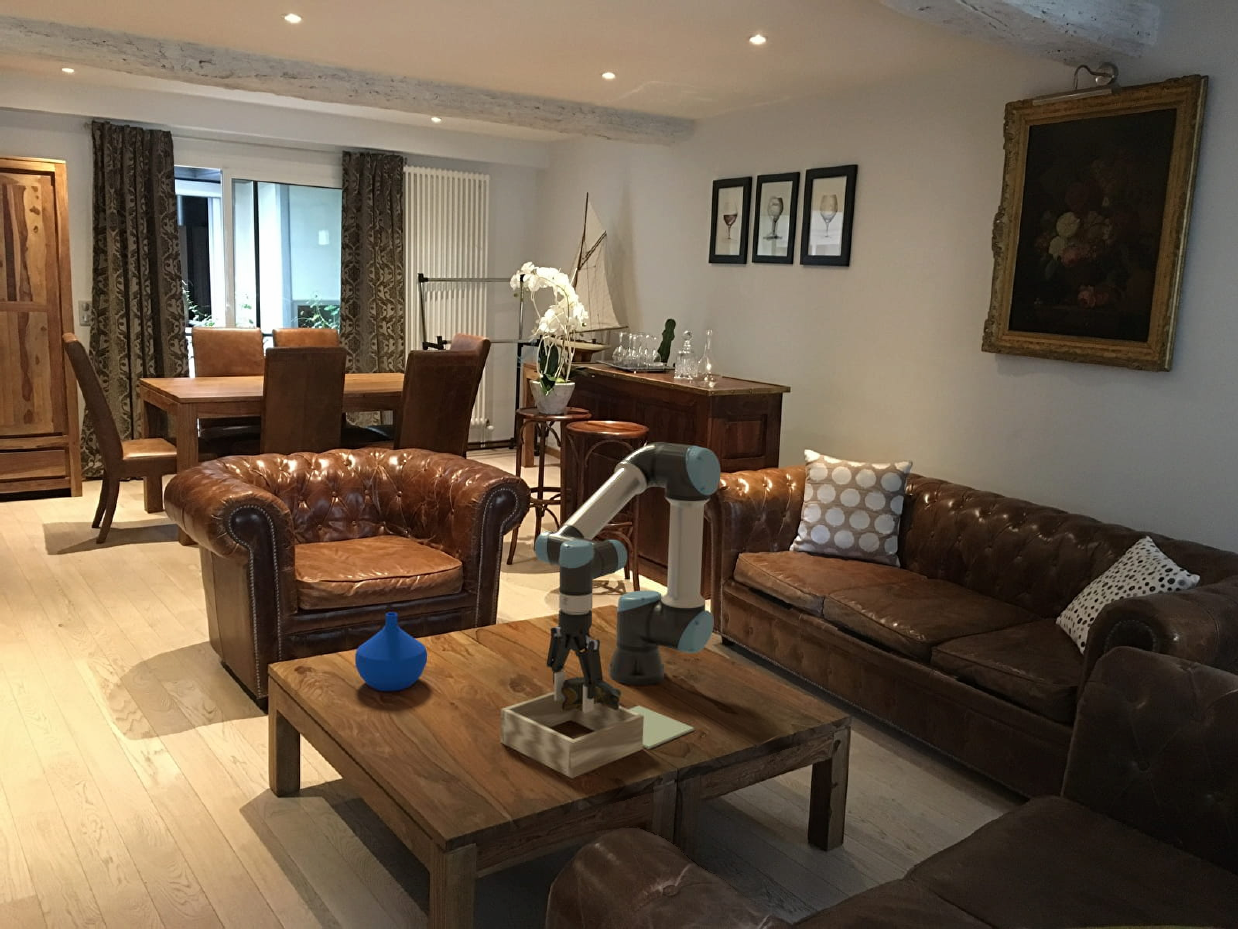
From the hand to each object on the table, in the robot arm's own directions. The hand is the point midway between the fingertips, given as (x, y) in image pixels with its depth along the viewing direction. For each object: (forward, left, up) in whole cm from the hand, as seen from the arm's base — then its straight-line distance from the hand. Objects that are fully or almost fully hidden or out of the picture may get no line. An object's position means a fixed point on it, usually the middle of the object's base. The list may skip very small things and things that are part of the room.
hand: (573, 705), depth 232 cm
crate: (0, 0, -10) cm, 10 cm away
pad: (+4, +20, -10) cm, 22 cm away
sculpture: (+2, 0, -3) cm, 3 cm away
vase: (-58, -10, -10) cm, 60 cm away
